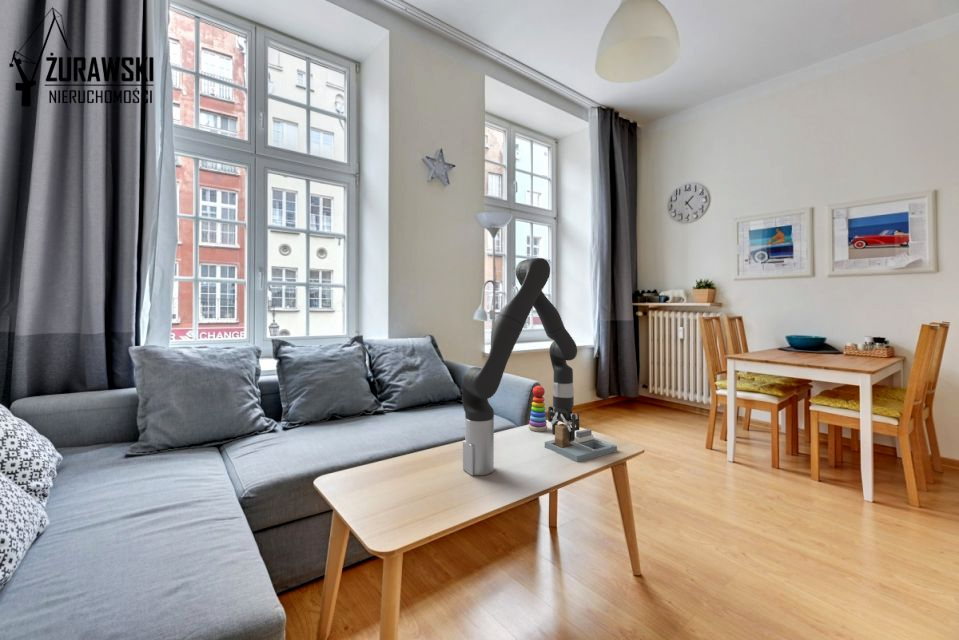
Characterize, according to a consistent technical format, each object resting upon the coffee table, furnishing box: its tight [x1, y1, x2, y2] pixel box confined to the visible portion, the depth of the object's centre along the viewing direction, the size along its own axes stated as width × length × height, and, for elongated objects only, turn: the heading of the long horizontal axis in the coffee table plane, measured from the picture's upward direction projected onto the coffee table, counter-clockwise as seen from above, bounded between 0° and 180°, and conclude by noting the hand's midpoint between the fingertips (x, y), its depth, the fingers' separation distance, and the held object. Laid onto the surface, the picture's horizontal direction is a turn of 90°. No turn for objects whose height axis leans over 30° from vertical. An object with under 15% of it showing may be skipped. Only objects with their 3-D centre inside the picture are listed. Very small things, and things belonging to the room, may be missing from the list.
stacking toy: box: [528, 385, 548, 432], centre depth 176 cm, size 8×8×19 cm
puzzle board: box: [544, 436, 618, 463], centre depth 153 cm, size 20×17×3 cm
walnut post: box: [554, 423, 570, 448], centre depth 152 cm, size 4×4×9 cm
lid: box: [574, 428, 594, 443], centre depth 158 cm, size 8×8×4 cm
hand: (563, 437), depth 152 cm, fingers open, 8 cm apart
